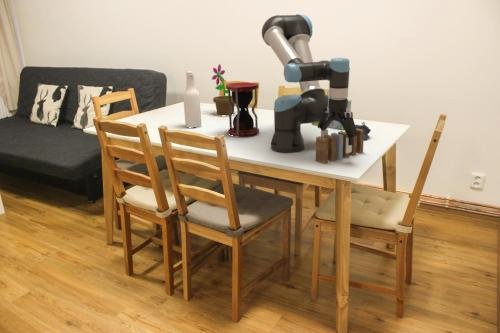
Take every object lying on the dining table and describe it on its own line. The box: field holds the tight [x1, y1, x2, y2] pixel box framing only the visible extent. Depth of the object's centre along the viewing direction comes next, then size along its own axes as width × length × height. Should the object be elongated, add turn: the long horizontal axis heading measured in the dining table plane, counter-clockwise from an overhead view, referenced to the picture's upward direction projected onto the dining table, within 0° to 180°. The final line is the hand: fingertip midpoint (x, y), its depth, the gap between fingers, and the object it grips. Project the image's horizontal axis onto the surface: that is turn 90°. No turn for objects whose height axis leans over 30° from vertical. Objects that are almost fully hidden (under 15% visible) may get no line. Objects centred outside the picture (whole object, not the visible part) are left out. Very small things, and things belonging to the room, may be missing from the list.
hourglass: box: [225, 81, 260, 138], centre depth 223 cm, size 16×16×25 cm
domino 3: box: [330, 132, 343, 160], centre depth 183 cm, size 2×5×10 cm, turn 35°
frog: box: [355, 121, 372, 141], centre depth 210 cm, size 10×12×8 cm
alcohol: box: [182, 70, 202, 129], centre depth 239 cm, size 9×9×30 cm
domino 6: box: [356, 128, 365, 154], centre depth 190 cm, size 2×5×10 cm, turn 35°
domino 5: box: [349, 136, 357, 156], centre depth 187 cm, size 2×5×10 cm, turn 35°
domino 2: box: [324, 134, 336, 162], centre depth 180 cm, size 2×5×10 cm, turn 35°
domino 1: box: [315, 136, 329, 164], centre depth 178 cm, size 2×5×10 cm, turn 35°
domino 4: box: [337, 130, 350, 158], centre depth 185 cm, size 2×5×10 cm, turn 35°
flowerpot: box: [211, 64, 236, 116], centre depth 267 cm, size 14×14×30 cm
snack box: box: [311, 99, 352, 131], centre depth 233 cm, size 21×6×15 cm, turn 47°
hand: (336, 148), depth 183 cm, fingers open, 13 cm apart
